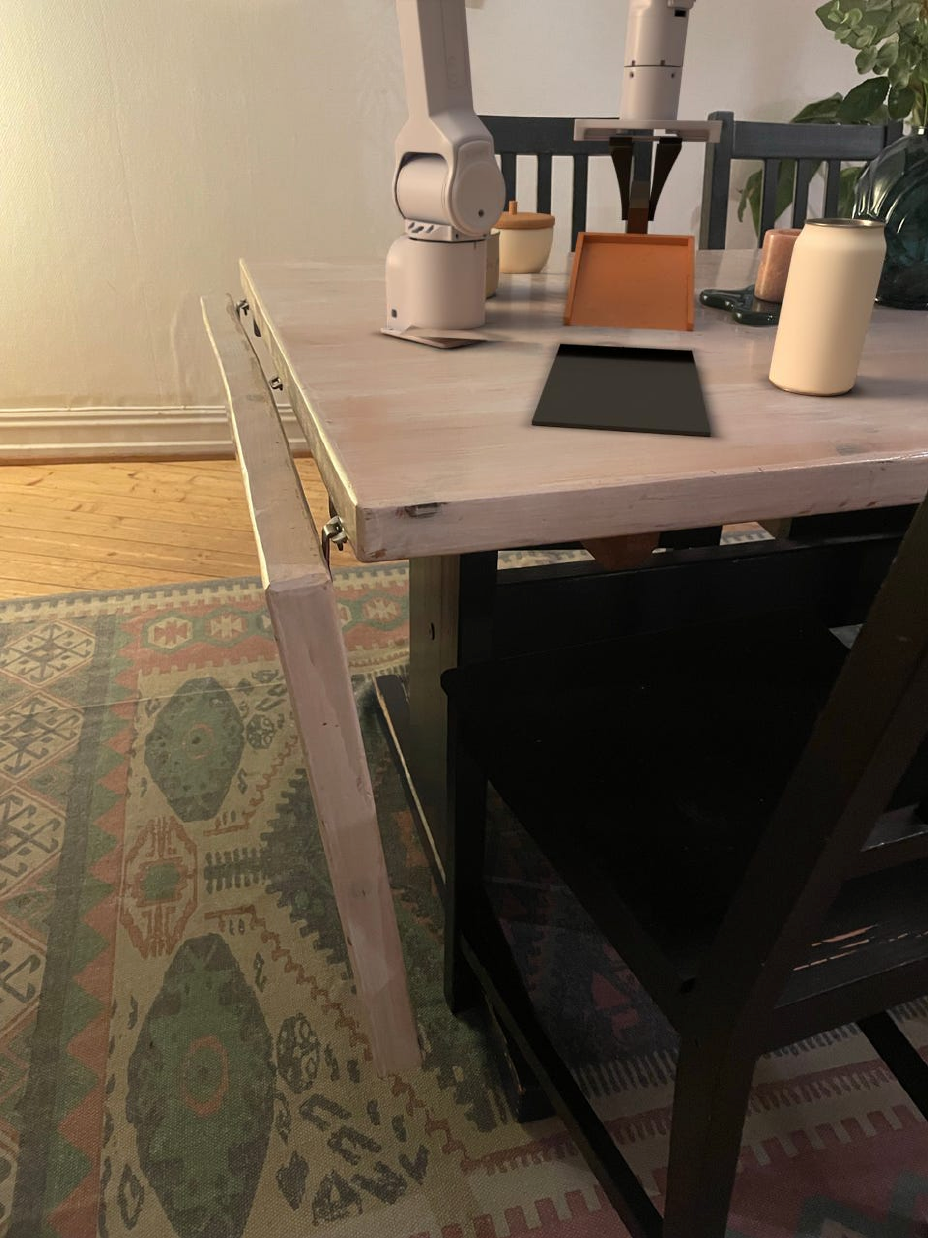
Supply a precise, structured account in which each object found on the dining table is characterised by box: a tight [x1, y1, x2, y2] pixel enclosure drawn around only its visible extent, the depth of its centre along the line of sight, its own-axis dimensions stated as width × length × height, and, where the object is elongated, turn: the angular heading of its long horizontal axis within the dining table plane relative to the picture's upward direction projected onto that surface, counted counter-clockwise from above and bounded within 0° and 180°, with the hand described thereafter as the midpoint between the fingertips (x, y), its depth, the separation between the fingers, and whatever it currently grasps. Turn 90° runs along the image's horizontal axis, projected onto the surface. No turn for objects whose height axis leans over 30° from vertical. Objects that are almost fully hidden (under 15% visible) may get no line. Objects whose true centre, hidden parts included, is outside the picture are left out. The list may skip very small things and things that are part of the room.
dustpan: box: [563, 180, 696, 332], centre depth 86 cm, size 12×22×4 cm, turn 170°
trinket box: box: [493, 200, 556, 274], centre depth 111 cm, size 11×11×9 cm
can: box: [768, 217, 887, 397], centre depth 66 cm, size 6×6×12 cm
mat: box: [531, 343, 712, 437], centre depth 69 cm, size 12×26×1 cm, turn 170°
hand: (637, 219), depth 91 cm, fingers closed on dustpan, 2 cm apart
